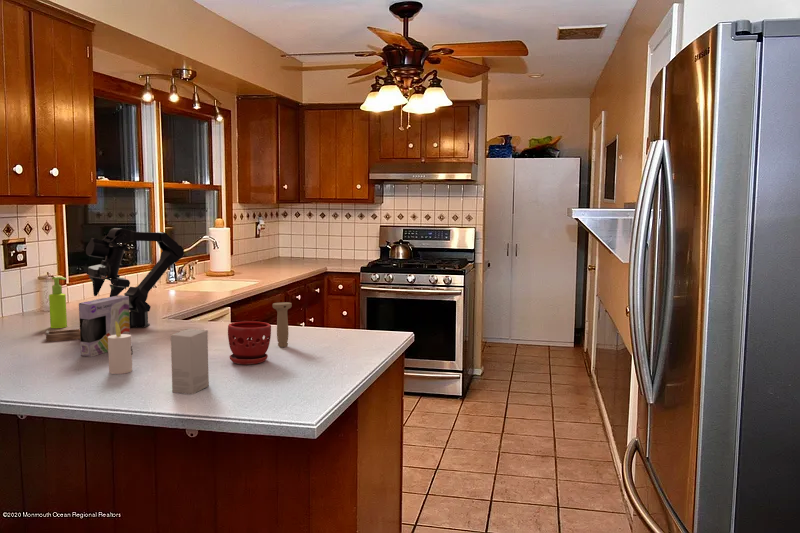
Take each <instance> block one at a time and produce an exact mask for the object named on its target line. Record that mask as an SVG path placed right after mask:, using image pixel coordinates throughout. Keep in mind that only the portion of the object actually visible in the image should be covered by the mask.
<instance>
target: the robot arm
mask: <svg viewBox="0 0 800 533" xmlns="http://www.w3.org/2000/svg"><path fill="white" fill-rule="evenodd" d="M132 242H157V244H158V246H159V248H160V250H161V253H160V256H159V257H160V258H159V260H158V262H157V263H155V265H154V266H153V267H152V268H151V269H150V271H149V272H148V273H147V275H146V276H144V278H143V279H142V280H141V282H140V283H139V284H138V285H137V286H130V285H131V281H130V280H129V279H127V278H124V277H120V276H121V275H120V274H119V271H120V268H123V264H122V259H123V255H124V252H130V251H131V250H130V248H129V247H128V245H127V243H132ZM120 244H121V245H120ZM85 254H86V256H89V257H93V258H100V259H102V260H101V262H100V264H95V265H91V266H88V267H87V272H86V275H87V276H88V278H89V279H90V281H91V282H92V290H93V291H92V292H93V296H94V297H97V296H98V294H99V293H100V291H101V289H102V287H103V285H104V283H105V281H106V280H107V281H110V284H109V287H110V293H109V297H113V296H118V295H121V293H122V292H123V291H124V290H126V289H127V288H128V289H127V291H126V292H124V293H123V296H129V320H130V328H145V327H148V326H150V324H151V323H149V312H150V311H151V306H152V305H150V304H149V303H147V300H148V296H149V292H150V291H151V290H152V289H153V288H154V286H155V285H156V283H157V282H158V281H159V280H160V279H161V278H162V276H163V275H164V274H165V273H166V272H167V270H168V269H169V268H170V267H171V266H172V265H175V263H177V262H178V261H180V260H181V259H182V258H183V257H184V255H185V250H184V248H183V246H181V245H180V244H178V242H177V241H175V240H174V239H173V238H172V237H171V236H170V235H168V233H166V232H165V231H158V232H153V231H151V232H150V231H149V232H147V231H133V230H130V229H126V228H120V227H119V228H118V227H114V228H111V229H110V230H108V234H106V236H105V237H104V238H102V239H98V238H93V237H91V238H90V241H89V242H88V244H87V246H86V248H85ZM104 258H105V260H103V259H104Z"/></svg>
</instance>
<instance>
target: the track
mask: <svg viewBox="0 0 800 533" xmlns="http://www.w3.org/2000/svg"><path fill="white" fill-rule="evenodd" d="M79 329H80V328H76V329H64V330H62V329H60V330H47V329H46V331H45V338H46V339H45V340H46V341H45V343H46V342H47V343H48V342H59V341H70V340H71V341H72V340H73V341H74V340H80V332H79Z"/></svg>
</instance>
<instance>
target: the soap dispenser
mask: <svg viewBox="0 0 800 533" xmlns="http://www.w3.org/2000/svg"><path fill="white" fill-rule="evenodd" d="M51 280H54V282H53V283H54V284H53V285H52V286H51V291H52V293H51V294H49V295H48V300H49V303H48V304H49V322H50V328H51V329H64V328H67V327H68V321H67V320H68V319H67V318H68V317H67V315H68V314H67V300H66V299H67V297H66V296H67V295H66V293H63V291H62V290H63V289H62V287H63V286H62V285H61V284H60V280H62V281H64V280H67V278H66V277H63V276H55V277H51Z"/></svg>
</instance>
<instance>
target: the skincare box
mask: <svg viewBox="0 0 800 533" xmlns="http://www.w3.org/2000/svg"><path fill="white" fill-rule="evenodd" d="M208 334H209V330H208V329H198V328H197V329H194V328H187V329H184V330H181V331H177V332H175V333H173V334H170V352H171V353H170V356H171V359H170V360H171V387H172V388H171V390H172V393H175V394H176V393H177V394H185V395H186V394H187V395H195V393H198V392H200V391H202V390H204V389H206V388H208V387H209V386H210V381H209V379H210V377H209V376H210V374H209V342H208V341H209V338H208V336H209V335H208Z"/></svg>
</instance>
